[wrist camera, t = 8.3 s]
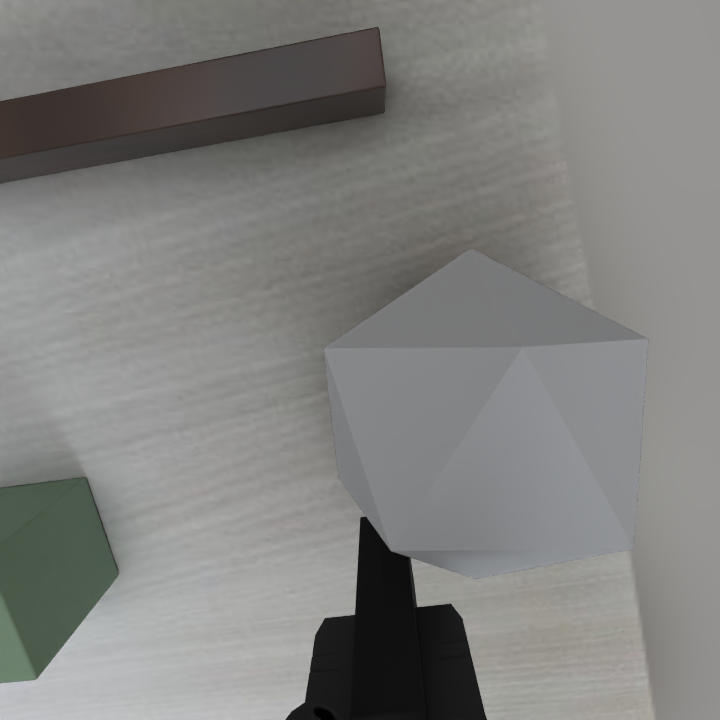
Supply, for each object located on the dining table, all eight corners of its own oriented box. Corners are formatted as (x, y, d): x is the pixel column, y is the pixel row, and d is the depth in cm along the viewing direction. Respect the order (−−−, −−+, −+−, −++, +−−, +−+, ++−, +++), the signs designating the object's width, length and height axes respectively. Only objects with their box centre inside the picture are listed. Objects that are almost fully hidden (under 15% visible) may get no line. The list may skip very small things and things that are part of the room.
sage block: (86, 476, 18) (-17, 557, 14) (120, 575, 20) (36, 681, 15) (-23, 490, 19) (-160, 573, 14) (17, 586, 20) (-97, 693, 15)
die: (332, 470, 19) (507, 717, 12) (225, 316, 13) (448, 629, 6) (480, 359, 20) (712, 514, 13) (446, 177, 14) (836, 280, 7)
